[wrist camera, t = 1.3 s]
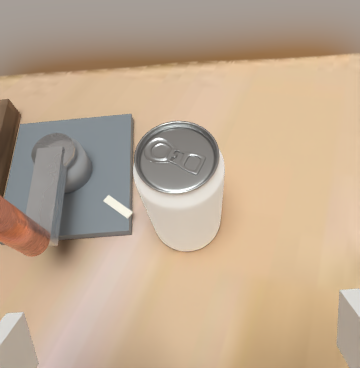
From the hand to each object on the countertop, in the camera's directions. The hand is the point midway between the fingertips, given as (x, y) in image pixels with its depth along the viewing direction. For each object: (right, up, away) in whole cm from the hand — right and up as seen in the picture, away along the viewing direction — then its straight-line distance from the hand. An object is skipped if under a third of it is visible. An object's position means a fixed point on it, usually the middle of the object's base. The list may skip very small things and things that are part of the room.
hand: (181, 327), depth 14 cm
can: (+1, +2, +18) cm, 19 cm away
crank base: (-12, +7, +22) cm, 25 cm away
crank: (-12, +5, +16) cm, 20 cm away
